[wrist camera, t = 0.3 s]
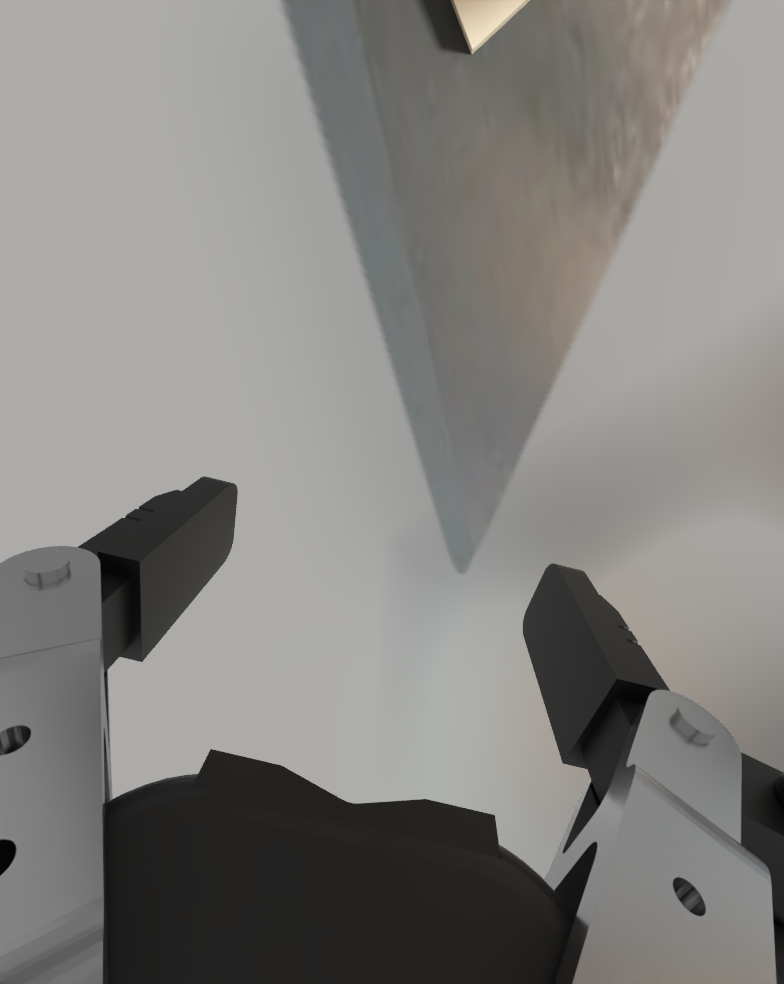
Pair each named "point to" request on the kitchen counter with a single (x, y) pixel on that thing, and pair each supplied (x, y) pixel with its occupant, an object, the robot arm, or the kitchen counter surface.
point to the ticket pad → (484, 18)
